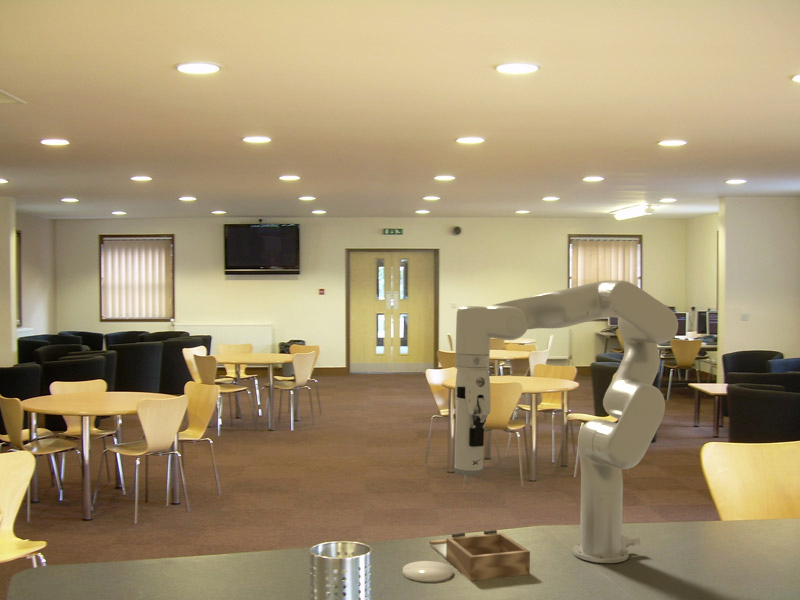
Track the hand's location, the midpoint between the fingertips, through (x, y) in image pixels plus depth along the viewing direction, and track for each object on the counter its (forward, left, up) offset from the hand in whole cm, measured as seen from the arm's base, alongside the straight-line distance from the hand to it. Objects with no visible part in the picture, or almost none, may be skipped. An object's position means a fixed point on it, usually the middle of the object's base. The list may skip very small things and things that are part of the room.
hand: (469, 442), depth 182 cm
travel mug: (0, 0, -7) cm, 7 cm away
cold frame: (-4, -6, -28) cm, 29 cm away
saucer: (+10, 0, -28) cm, 30 cm away
